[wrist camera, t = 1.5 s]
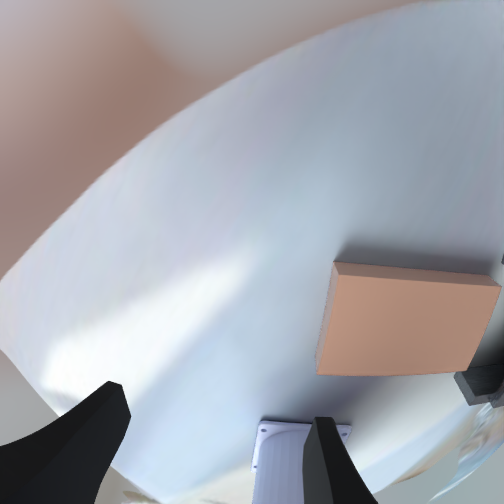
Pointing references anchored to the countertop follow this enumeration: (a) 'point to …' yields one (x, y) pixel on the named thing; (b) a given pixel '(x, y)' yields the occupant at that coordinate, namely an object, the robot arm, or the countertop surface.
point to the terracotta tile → (402, 320)
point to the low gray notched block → (482, 384)
